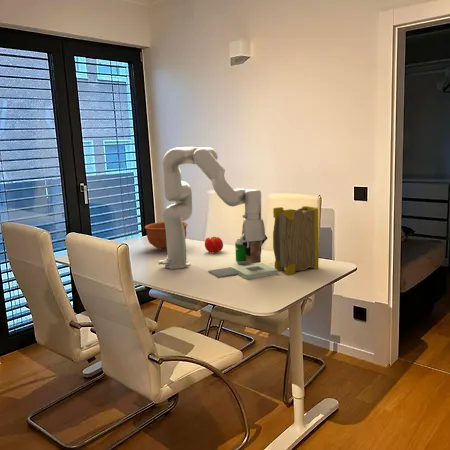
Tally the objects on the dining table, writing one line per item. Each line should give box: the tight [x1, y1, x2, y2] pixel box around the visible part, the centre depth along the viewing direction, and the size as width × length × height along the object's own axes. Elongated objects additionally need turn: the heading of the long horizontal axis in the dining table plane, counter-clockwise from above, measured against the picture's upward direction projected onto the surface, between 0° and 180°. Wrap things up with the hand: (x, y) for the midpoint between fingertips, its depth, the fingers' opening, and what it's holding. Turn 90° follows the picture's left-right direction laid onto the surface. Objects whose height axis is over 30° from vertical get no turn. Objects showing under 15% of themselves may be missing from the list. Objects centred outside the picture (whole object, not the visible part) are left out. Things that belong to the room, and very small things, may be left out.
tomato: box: [204, 236, 224, 254], centre depth 266 cm, size 11×11×9 cm
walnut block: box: [246, 241, 262, 265], centre depth 220 cm, size 5×5×10 cm
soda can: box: [234, 238, 250, 265], centre depth 241 cm, size 8×8×12 cm
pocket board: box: [232, 262, 278, 280], centre depth 222 cm, size 16×14×2 cm
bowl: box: [144, 221, 188, 251], centre depth 278 cm, size 25×25×15 cm
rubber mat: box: [207, 266, 239, 279], centre depth 224 cm, size 12×12×1 cm
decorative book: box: [272, 205, 319, 276], centre depth 222 cm, size 20×11×30 cm, turn 116°
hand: (253, 254), depth 221 cm, fingers closed on walnut block, 5 cm apart
